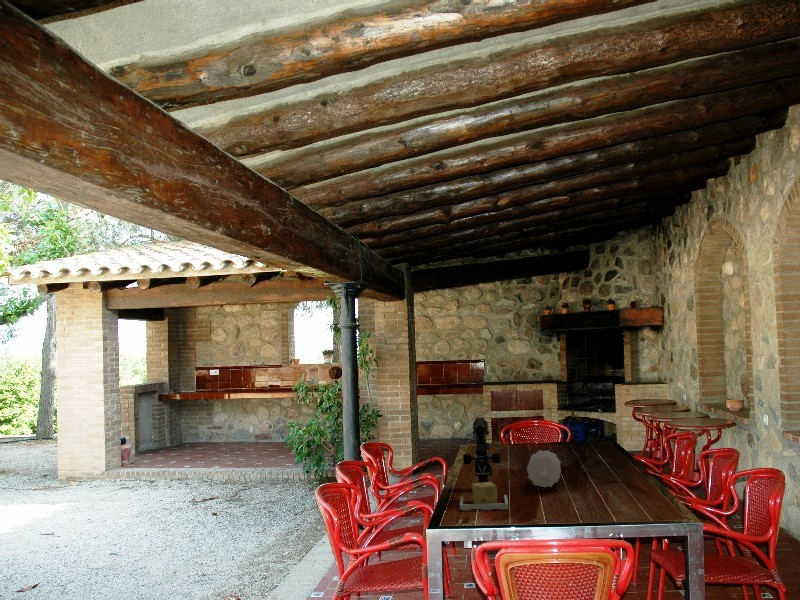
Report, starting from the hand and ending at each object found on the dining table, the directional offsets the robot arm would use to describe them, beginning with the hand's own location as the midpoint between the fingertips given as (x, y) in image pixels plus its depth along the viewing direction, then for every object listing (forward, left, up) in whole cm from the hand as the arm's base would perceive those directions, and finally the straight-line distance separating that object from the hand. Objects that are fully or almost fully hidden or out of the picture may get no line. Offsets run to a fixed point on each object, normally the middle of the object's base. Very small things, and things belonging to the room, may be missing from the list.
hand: (482, 472), depth 354 cm
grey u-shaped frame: (+14, +7, -12) cm, 20 cm away
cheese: (+14, +7, -13) cm, 20 cm away
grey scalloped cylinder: (-39, +17, -13) cm, 44 cm away
